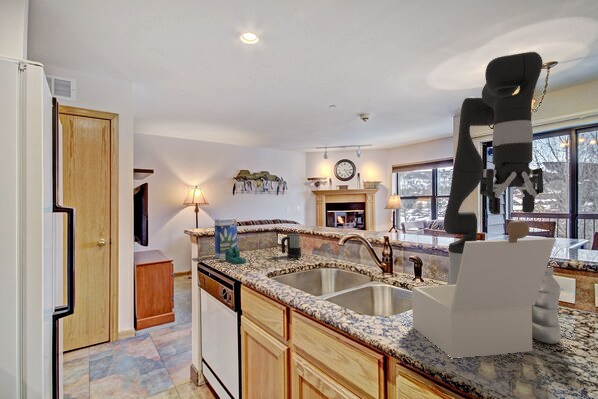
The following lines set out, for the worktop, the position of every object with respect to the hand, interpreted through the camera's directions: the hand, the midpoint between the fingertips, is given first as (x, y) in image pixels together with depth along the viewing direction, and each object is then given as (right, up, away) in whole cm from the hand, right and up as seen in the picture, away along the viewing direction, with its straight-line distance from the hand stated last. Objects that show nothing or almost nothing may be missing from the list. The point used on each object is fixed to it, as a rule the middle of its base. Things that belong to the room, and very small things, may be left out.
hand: (511, 213), depth 69 cm
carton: (-3, -35, +13) cm, 37 cm away
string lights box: (-99, -36, +131) cm, 168 cm away
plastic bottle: (+16, -35, +10) cm, 40 cm away
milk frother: (-52, -35, +125) cm, 140 cm away
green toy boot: (-89, -36, +116) cm, 150 cm away
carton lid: (-2, -12, +1) cm, 12 cm away
